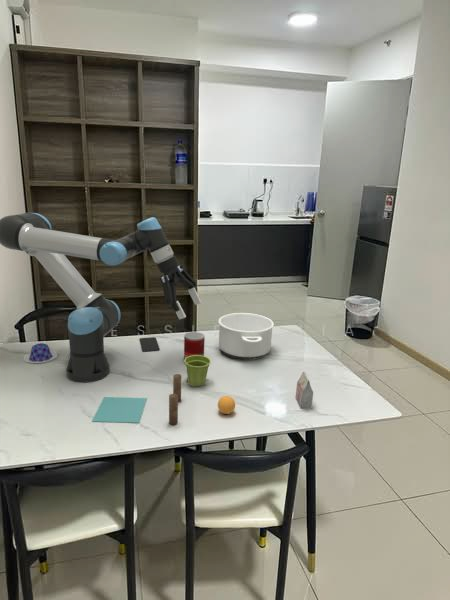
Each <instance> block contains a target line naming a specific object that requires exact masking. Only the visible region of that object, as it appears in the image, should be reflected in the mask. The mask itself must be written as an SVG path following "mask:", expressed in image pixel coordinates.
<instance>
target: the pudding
mask: <svg viewBox="0 0 450 600" xmlns="http://www.w3.org/2000/svg"><path fill="white" fill-rule="evenodd" d="M57 356H58V353H57V351H54V350H50V347H49V345H48V343H43V342H42V343H36V344H33V345H32V347H31V348H30V352H29V353H27V354H26V355H24V357H23V360H24V361H25V362H27V363H30V364H31V363H32V364H41V363H46V362H50V361H52V360H54V359H55V358H57Z"/></svg>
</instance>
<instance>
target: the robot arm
mask: <svg viewBox="0 0 450 600" xmlns="http://www.w3.org/2000/svg"><path fill="white" fill-rule="evenodd" d="M136 226H137V227H136V228H137V230H135V231H133V232H131V233H130V234H127V235H125V236H123V237H120V238H117V239H109V238H103V237H96V236H90V235H86V234H84V235H83V234H78V233H72V232H67V231H66V232H65V231H59V230H54V229H53V230H52V225H51V223H50V221H49V220H48V219H47V218H46V216H44V215H42V214H41V213H36V212H23V213H20V214H11V215H7V216H4V217H2V218H0V245H1V246H2V247H5V249H9V250H14V251H21V252H25V253H26V254H27V256H30V257H34V258H36V259H37V261H38V262H39V263H40V264H41V266H43V268H44V269H45V271H47V273H48V274H49V275H50V276H51V277H52V279H53V280H54V281H55V282H56V284H57V285H58V286H59V287H60V288H61V289H62V291H64V292H63V293H65V295H67V297H68V298H69V299H70V300H71V302H72V303H74V305H75V307H76V309H75V310H73V311H72V312H70V314H69V315H68V317H67V329H68V342H69V344H68V345H69V354H70V355H69V358H68V360H67V361H68V362H67V365H66V367H65V368H66V369H65V372H66V374H65V376H66V378H67V379H69V380H70V381H73V382H76V383H92V382H96V381H99V380H102V379H104V378H106V377H107V376H108V375H109V374H110V371H111V369H110V362H109V361H108V357H107V356H106V353H105V346H104V341H105V340H104V339H105V338H104V337H106V336H107V335H108V334H109V333H110V332H112V331H113V330H114V329H115V328H116V327H117V326H118V324H119V323H120V320H121V310H120V308H119V306H118V304H117V303H115V301H113V300H110V299H106V297H105V296H104V295H103V294H102V293H98V292H96V291H94V289H93V288H92V287H91V286H90V284H89V283H88V281H86V280H85V278H84V277H83V276H82V275H81V273H80V272H79V271H78V269H76V267H75V266H74V265H73V264H72V263H71V261H70V260H69V259H68V258H67V256H70V257H76V258H81V259H82V258H83V259H89V260H93V261H101V262H103V263H104V264H106V265H108V266H117V265H120V264H122V263H123V262H125V261H126V260H128V259H130V258H132V257H134V256H136V255H138V254H140V253H142V252H144V251H147V250H148V252H149V253H150V255H151V257H152V260H153V262H154V263H157V264H156V267H157V269H158V271H159V273H161V274H163V276H162V277H160V278H159V280H160V282H161V285H162V286H161V287H162V291H163V296H164V300H165V304H166V305H171V308H172V309H173V310H174V312H175V313H176V316H177V317H178V320H182V319H185V318H186V317H187V315H186V313H185V311H184V310H183V308H182V306H181V303H180V302H179V300H177V290H176V289H177V288H176V287H177V286H176V285H177V284H178V282H179V283H180V284H182V285H183V286H185V287H186V288H187V289H188V290H187V291H188V293H189V295H190V297H191V299H192V302H193V303H194V306H197V305H199V304H202V300H201V299H200V298H201V297H200V296H199V294H198V292H197V290H196V287H197V281H196V280H195V279H194V278H193V277H192V275H190V273H189V272H188V271H187V270H186V269H185V267H184V265H182V264H179V263H180V262H179V261H178V259H177V257H176V256H175V255H174V251H173V249H172V247H171V245H170V243H169V241H168V238H167V237H166V234H165V233H164V230H163V228H162V226H161V225H160V222H159V221H158V219H157V218H156V217H153V216H152V217H151V216H150V217H149V218H147V219H145V220H143V221H141V222H138V223H137V224H136Z"/></svg>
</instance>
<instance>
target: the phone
mask: <svg viewBox="0 0 450 600" xmlns="http://www.w3.org/2000/svg"><path fill="white" fill-rule="evenodd" d="M139 344H140V348H141V351H142V352H143V353H149V352H150V353H152V352H159V351H161V349H160V345H159V343H158V341H157V338H156V337H155V336H154V337H153V336H152V337H149V336H148V337H140V338H139Z"/></svg>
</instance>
